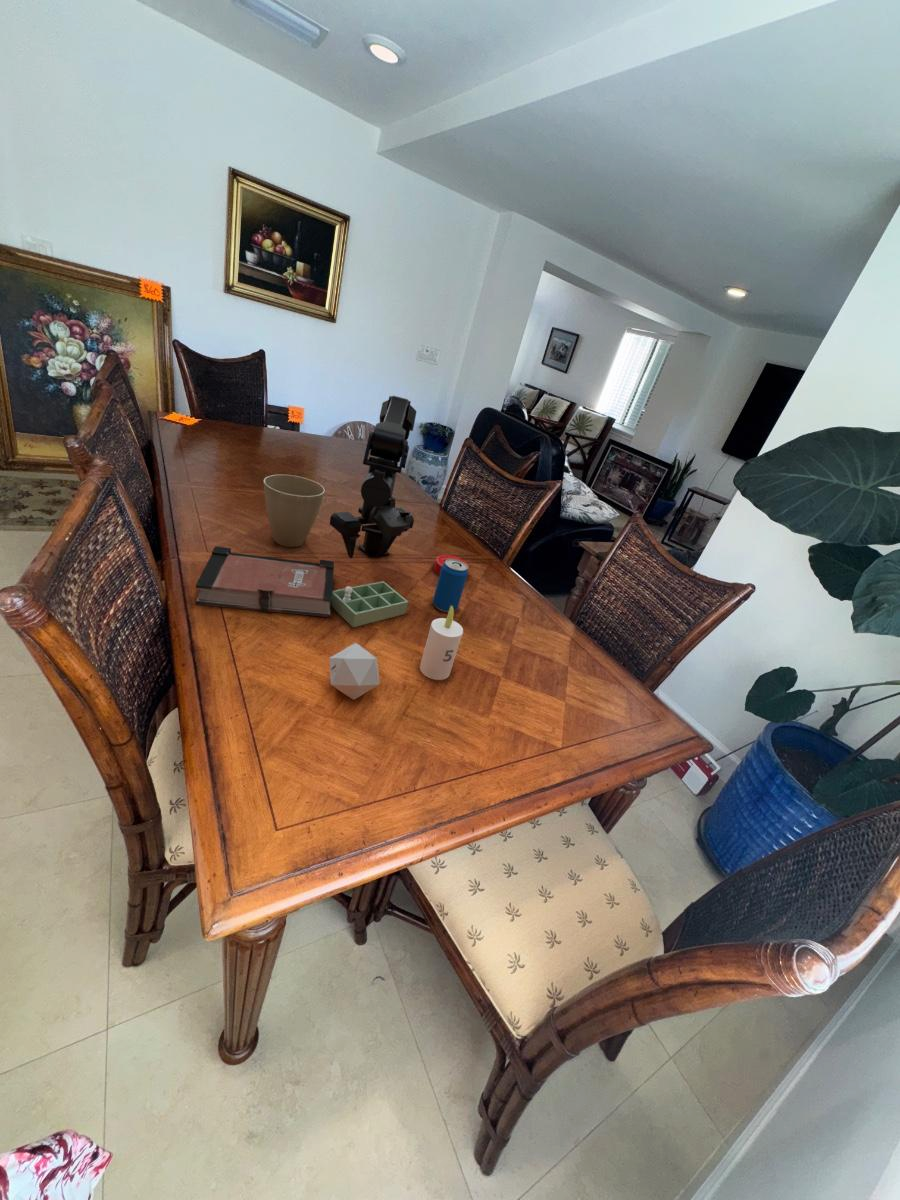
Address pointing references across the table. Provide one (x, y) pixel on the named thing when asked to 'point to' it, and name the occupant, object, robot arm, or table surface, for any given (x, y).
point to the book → (266, 583)
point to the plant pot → (291, 507)
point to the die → (354, 671)
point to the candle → (441, 647)
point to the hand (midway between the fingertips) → (367, 555)
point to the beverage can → (450, 585)
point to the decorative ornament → (441, 561)
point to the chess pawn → (347, 593)
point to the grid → (369, 603)
